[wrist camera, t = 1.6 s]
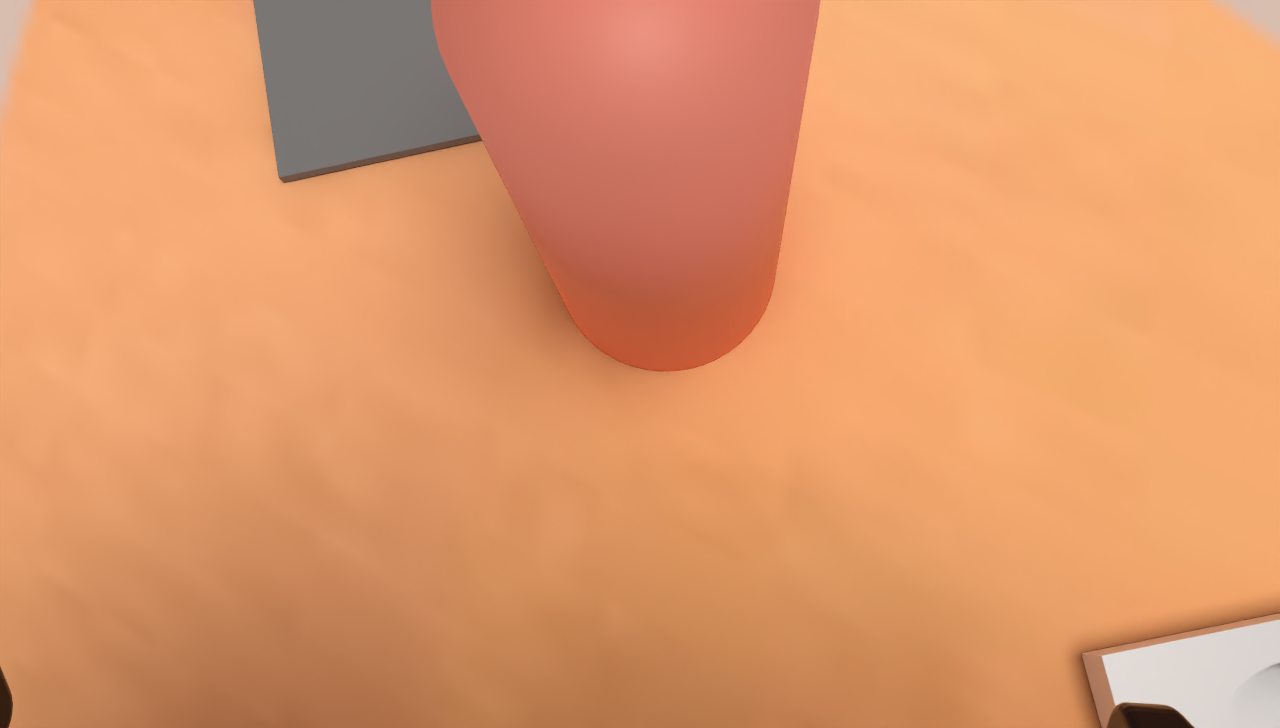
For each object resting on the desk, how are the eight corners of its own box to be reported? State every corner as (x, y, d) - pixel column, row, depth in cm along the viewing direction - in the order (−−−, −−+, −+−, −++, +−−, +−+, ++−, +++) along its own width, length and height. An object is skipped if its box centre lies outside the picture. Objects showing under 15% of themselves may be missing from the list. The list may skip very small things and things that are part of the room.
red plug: (797, 345, 24) (861, 124, 13) (580, 392, 24) (465, 208, 13) (749, 142, 25) (772, -224, 14) (541, 187, 25) (402, -142, 14)
